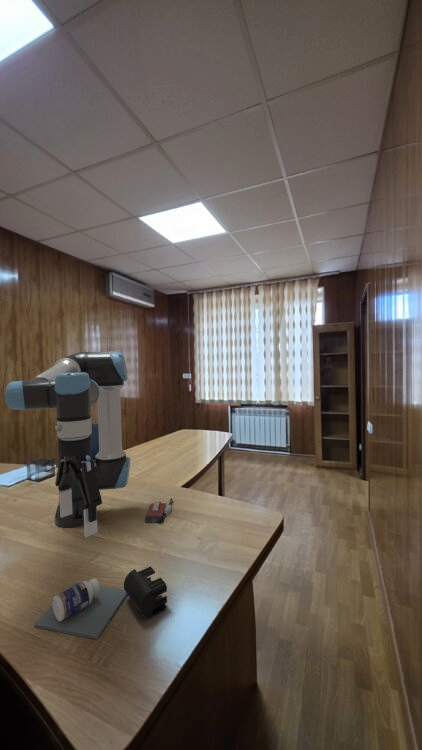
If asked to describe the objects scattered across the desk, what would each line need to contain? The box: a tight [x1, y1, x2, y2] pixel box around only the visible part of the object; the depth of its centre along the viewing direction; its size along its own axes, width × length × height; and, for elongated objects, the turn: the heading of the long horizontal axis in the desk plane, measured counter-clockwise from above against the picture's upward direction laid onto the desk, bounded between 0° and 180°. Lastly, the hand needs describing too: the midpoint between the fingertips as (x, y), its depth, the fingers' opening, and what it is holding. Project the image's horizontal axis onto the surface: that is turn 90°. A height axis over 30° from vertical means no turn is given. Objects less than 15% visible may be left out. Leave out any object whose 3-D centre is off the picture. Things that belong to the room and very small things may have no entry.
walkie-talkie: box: [144, 497, 174, 524], centre depth 125 cm, size 9×4×20 cm
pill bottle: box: [52, 577, 101, 622], centre depth 74 cm, size 5×5×10 cm
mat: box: [33, 581, 128, 640], centre depth 75 cm, size 16×14×1 cm
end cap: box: [123, 566, 168, 619], centre depth 76 cm, size 10×7×7 cm
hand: (78, 524), depth 75 cm, fingers open, 13 cm apart
